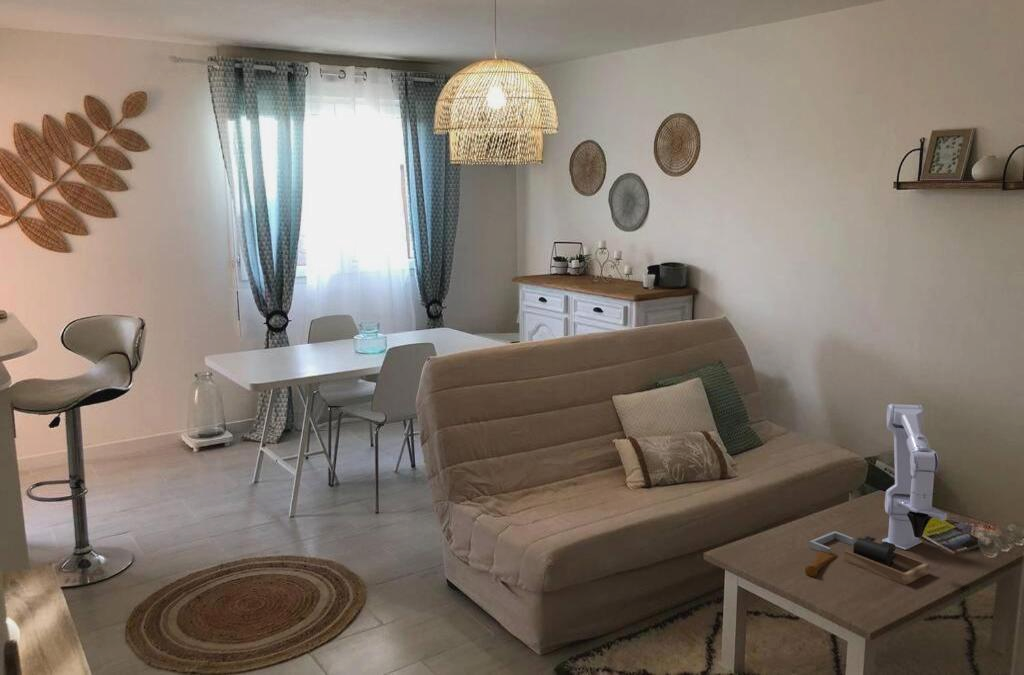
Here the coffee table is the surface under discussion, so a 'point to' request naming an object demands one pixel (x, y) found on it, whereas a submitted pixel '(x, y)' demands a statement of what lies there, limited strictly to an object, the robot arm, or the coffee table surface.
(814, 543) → the frame
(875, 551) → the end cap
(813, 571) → the primitive tool
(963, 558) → the coffee table surface
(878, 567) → the cubby
